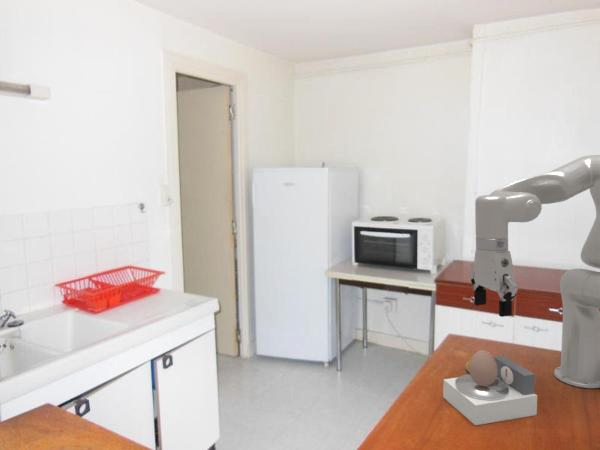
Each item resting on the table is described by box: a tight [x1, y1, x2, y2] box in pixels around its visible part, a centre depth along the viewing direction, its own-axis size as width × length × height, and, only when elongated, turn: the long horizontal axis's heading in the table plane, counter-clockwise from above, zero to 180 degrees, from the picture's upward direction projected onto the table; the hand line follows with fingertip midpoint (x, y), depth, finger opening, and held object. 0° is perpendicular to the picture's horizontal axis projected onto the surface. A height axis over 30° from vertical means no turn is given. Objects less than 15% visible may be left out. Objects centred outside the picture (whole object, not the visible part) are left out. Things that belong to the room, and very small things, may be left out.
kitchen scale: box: [442, 355, 538, 426], centre depth 115 cm, size 17×14×10 cm
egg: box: [468, 349, 498, 387], centre depth 114 cm, size 7×7×9 cm
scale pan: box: [455, 373, 509, 401], centre depth 115 cm, size 13×13×1 cm
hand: (492, 309), depth 116 cm, fingers open, 9 cm apart
